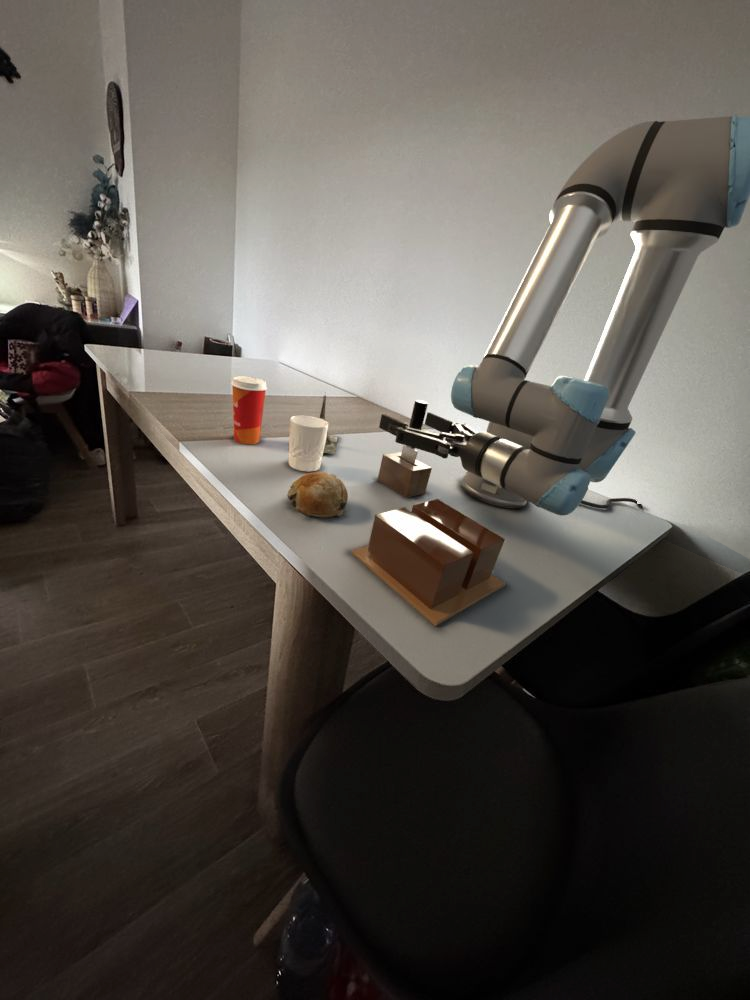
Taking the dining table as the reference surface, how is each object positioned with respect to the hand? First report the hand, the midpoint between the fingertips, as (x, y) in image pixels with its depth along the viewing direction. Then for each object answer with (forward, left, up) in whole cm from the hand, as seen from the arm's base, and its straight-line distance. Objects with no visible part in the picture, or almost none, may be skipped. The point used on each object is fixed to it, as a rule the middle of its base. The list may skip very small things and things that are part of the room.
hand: (405, 419), depth 81 cm
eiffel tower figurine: (+14, -21, -14) cm, 28 cm away
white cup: (+19, -6, -14) cm, 24 cm away
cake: (+5, +31, -14) cm, 35 cm away
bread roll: (+19, +12, -14) cm, 27 cm away
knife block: (-1, +2, -14) cm, 14 cm away
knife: (-1, +2, -14) cm, 14 cm away
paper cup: (+31, -19, -14) cm, 38 cm away
